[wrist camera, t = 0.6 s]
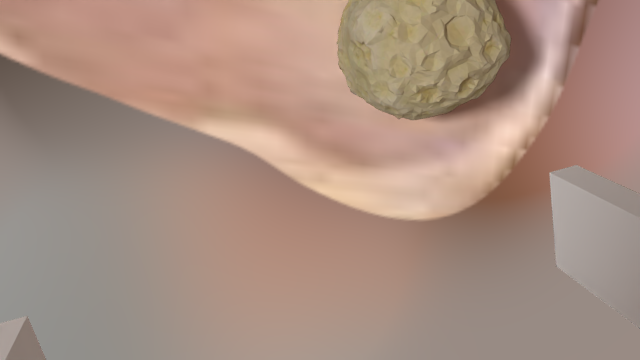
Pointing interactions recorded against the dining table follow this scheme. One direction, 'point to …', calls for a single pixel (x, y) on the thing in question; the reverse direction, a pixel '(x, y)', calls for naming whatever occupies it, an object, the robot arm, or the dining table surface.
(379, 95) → the decorative object
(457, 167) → the dining table surface
